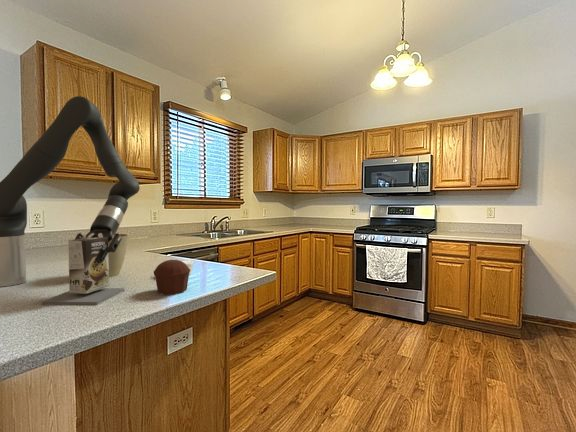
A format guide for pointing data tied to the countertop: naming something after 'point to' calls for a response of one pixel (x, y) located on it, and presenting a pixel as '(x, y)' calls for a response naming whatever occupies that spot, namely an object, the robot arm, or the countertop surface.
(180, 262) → the muffin
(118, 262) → the plant pot
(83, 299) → the mat
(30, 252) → the countertop surface
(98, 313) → the countertop surface
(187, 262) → the ramekin
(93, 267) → the coffee box
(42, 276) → the countertop surface
